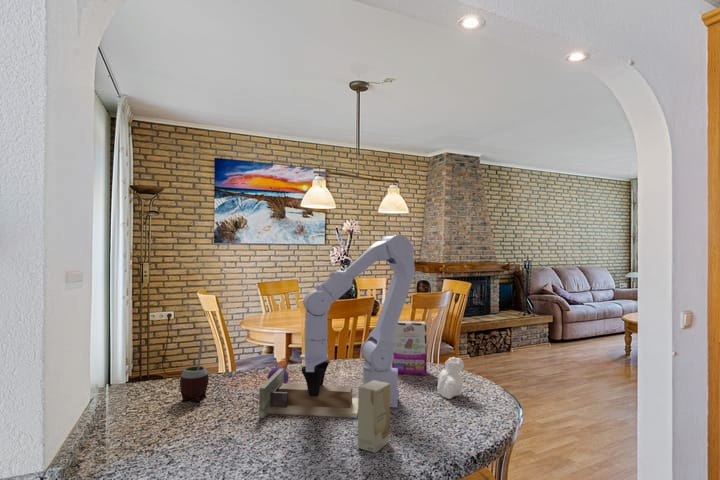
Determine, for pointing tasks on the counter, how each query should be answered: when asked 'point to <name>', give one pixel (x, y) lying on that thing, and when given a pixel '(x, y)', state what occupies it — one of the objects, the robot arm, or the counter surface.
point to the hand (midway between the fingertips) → (315, 392)
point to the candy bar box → (410, 347)
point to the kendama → (280, 366)
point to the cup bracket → (277, 404)
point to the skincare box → (373, 415)
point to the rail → (325, 398)
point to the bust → (450, 378)
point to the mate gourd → (194, 381)
